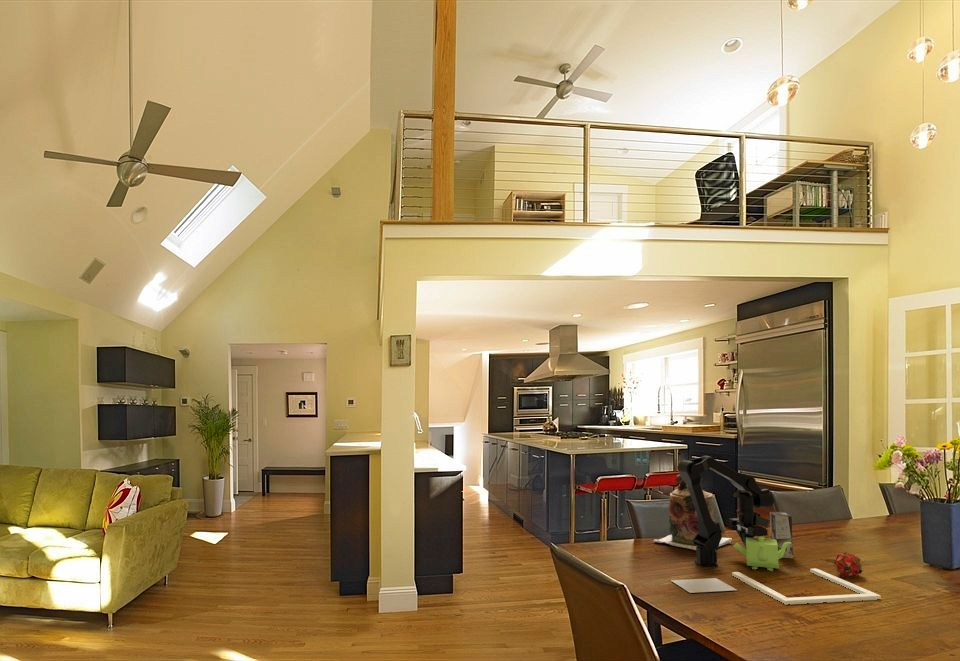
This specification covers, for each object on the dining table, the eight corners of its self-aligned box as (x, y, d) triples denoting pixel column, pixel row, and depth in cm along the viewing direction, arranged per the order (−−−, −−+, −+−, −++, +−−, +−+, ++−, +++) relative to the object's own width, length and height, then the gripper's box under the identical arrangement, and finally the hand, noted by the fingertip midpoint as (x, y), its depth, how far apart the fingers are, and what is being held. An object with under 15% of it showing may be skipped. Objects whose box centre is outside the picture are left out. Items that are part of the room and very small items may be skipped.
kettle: (793, 570, 241) (792, 538, 242) (765, 575, 235) (764, 543, 236) (759, 560, 255) (758, 530, 256) (732, 565, 248) (731, 534, 249)
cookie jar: (681, 534, 300) (679, 462, 303) (734, 543, 282) (731, 467, 285) (651, 543, 284) (649, 467, 286) (704, 553, 266) (702, 472, 268)
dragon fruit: (851, 576, 240) (850, 589, 229) (829, 559, 243) (827, 572, 233) (866, 559, 237) (866, 572, 227) (844, 543, 240) (842, 555, 230)
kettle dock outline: (785, 604, 204) (785, 600, 204) (732, 575, 235) (732, 572, 235) (880, 599, 209) (880, 595, 209) (816, 571, 240) (816, 568, 240)
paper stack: (754, 601, 208) (754, 599, 208) (679, 606, 204) (679, 603, 204) (715, 579, 231) (715, 577, 231) (647, 583, 227) (647, 581, 227)
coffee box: (793, 558, 258) (792, 516, 259) (776, 557, 259) (774, 515, 260) (787, 552, 267) (786, 511, 268) (770, 551, 268) (769, 511, 269)
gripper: (780, 512, 248) (781, 555, 247) (752, 503, 266) (753, 543, 265) (752, 513, 246) (754, 556, 245) (726, 504, 265) (727, 544, 264)
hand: (747, 549), depth 255 cm, fingers closed
